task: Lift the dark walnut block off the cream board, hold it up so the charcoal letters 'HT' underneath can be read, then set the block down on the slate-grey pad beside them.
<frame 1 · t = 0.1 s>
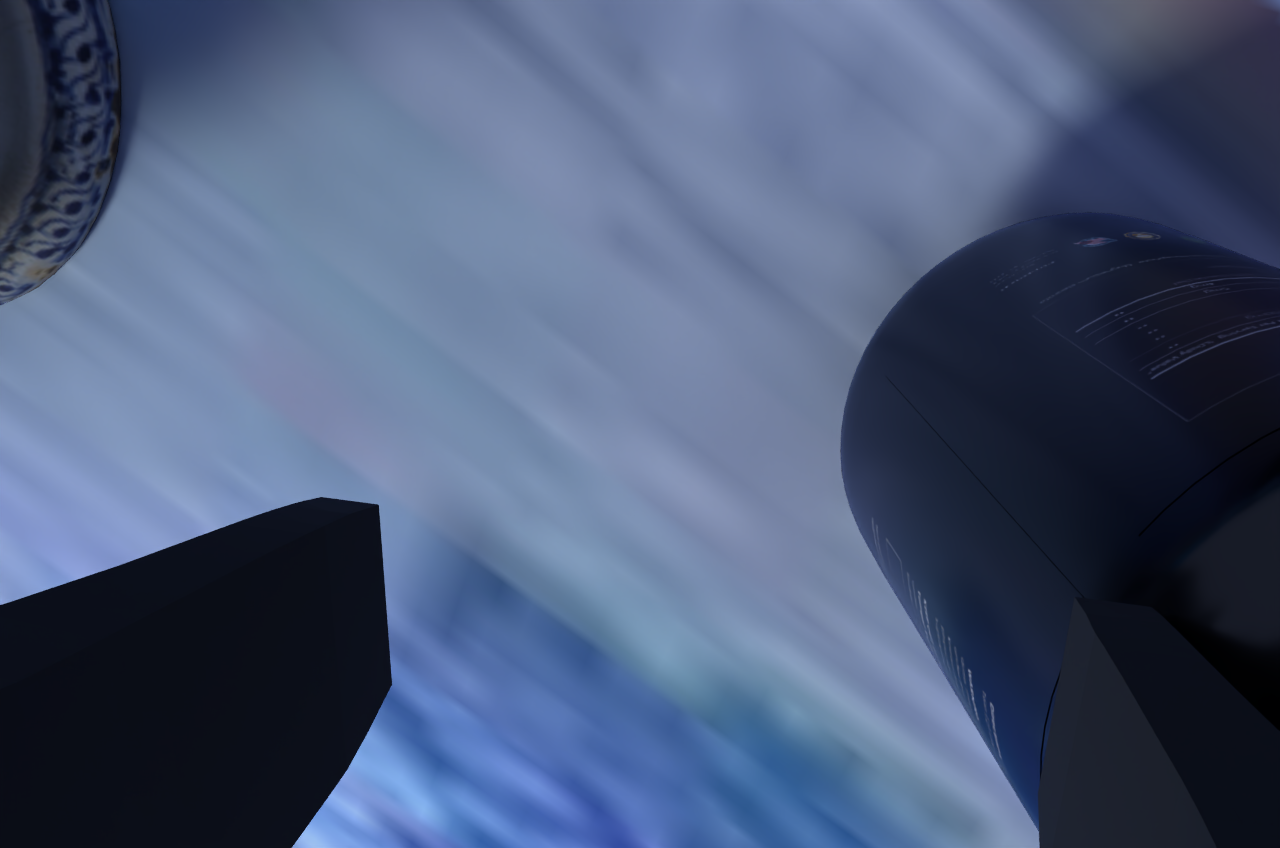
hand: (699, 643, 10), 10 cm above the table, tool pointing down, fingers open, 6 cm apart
supplement bottle: (1036, 407, 18), point 1 cm above the table, touching gripper
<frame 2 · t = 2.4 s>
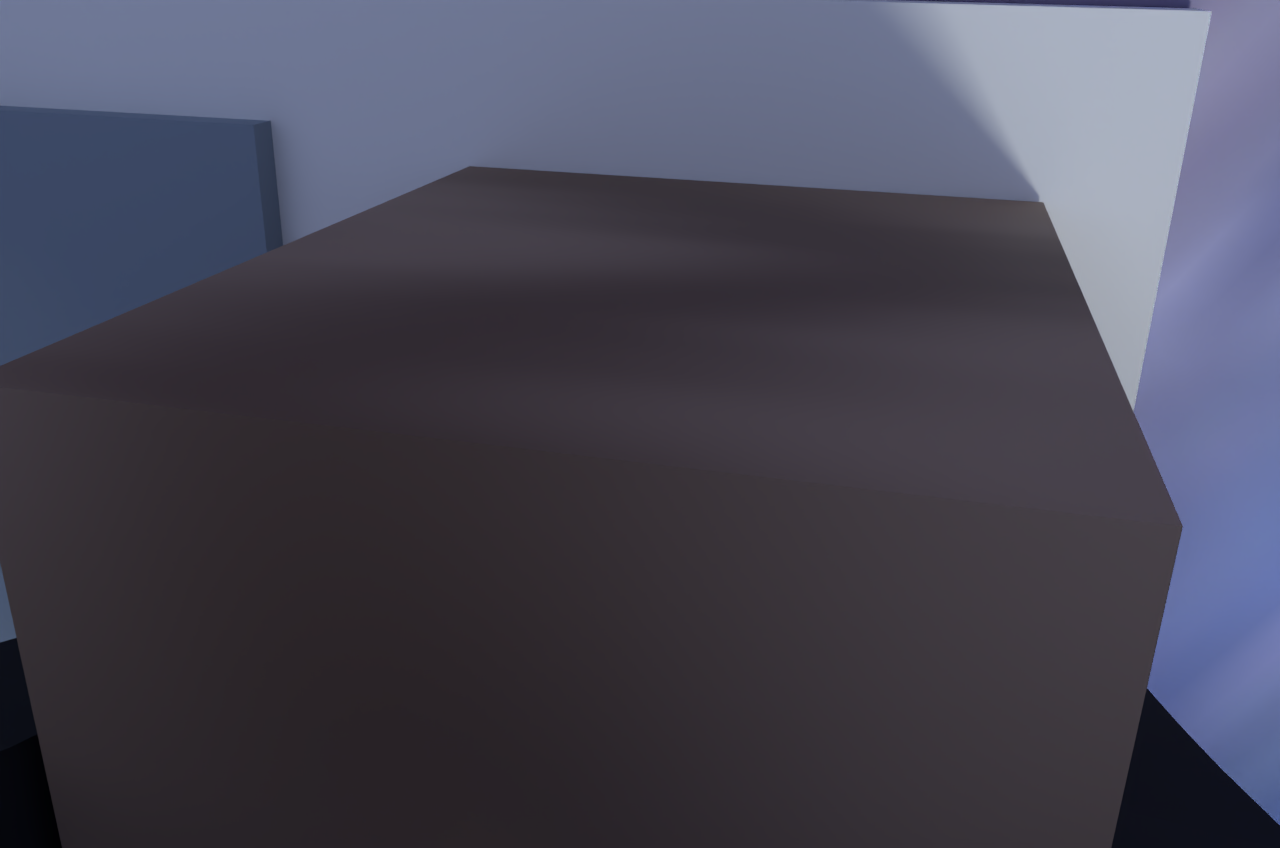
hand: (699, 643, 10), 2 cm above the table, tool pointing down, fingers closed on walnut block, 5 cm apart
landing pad: (71, 494, 13), resting on code board
code board: (419, 515, 13), on the table
walnut block: (719, 586, 11), point 1 cm above the table, touching code board, gripper
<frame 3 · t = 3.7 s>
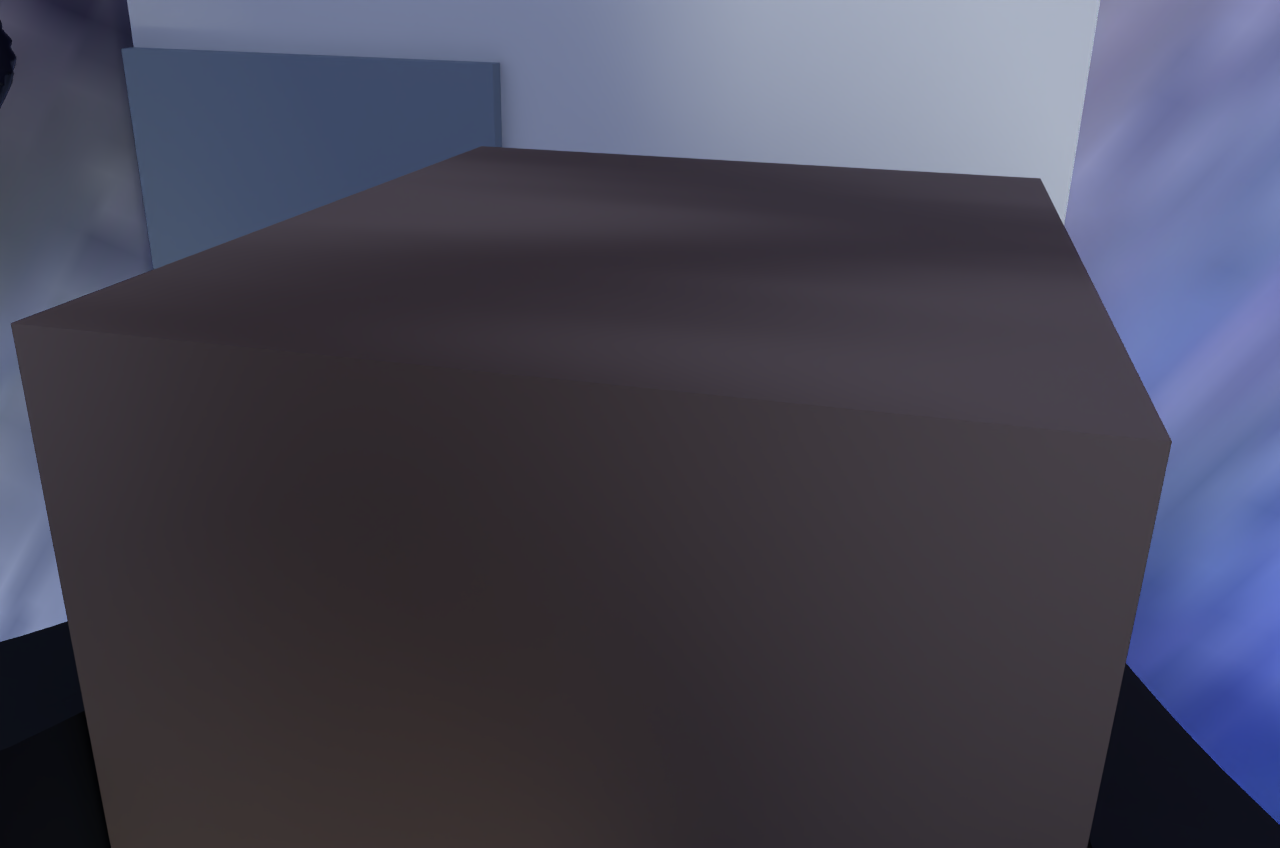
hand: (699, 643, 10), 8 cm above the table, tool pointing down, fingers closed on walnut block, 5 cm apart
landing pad: (333, 329, 19), resting on code board
code board: (578, 341, 18), on the table
walnut block: (724, 559, 12), point 7 cm above the table, touching gripper
when the fingers open (3 cm above the table, at t = 7.2 s): walnut block stays where it is, resting on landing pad.
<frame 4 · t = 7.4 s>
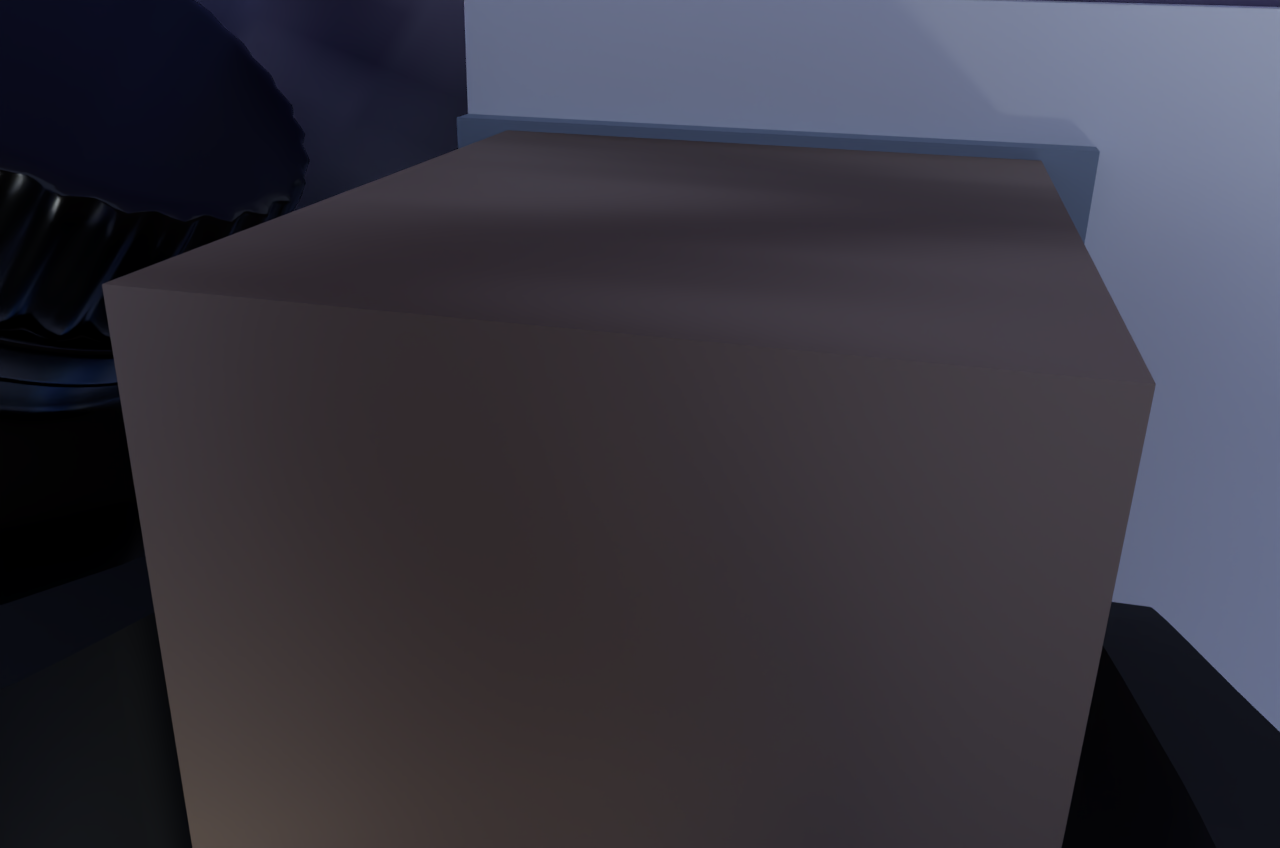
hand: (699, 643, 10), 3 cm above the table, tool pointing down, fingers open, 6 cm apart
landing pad: (739, 531, 13), resting on code board
code board: (1119, 553, 12), on the table
walnut block: (738, 527, 12), point 1 cm above the table, touching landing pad
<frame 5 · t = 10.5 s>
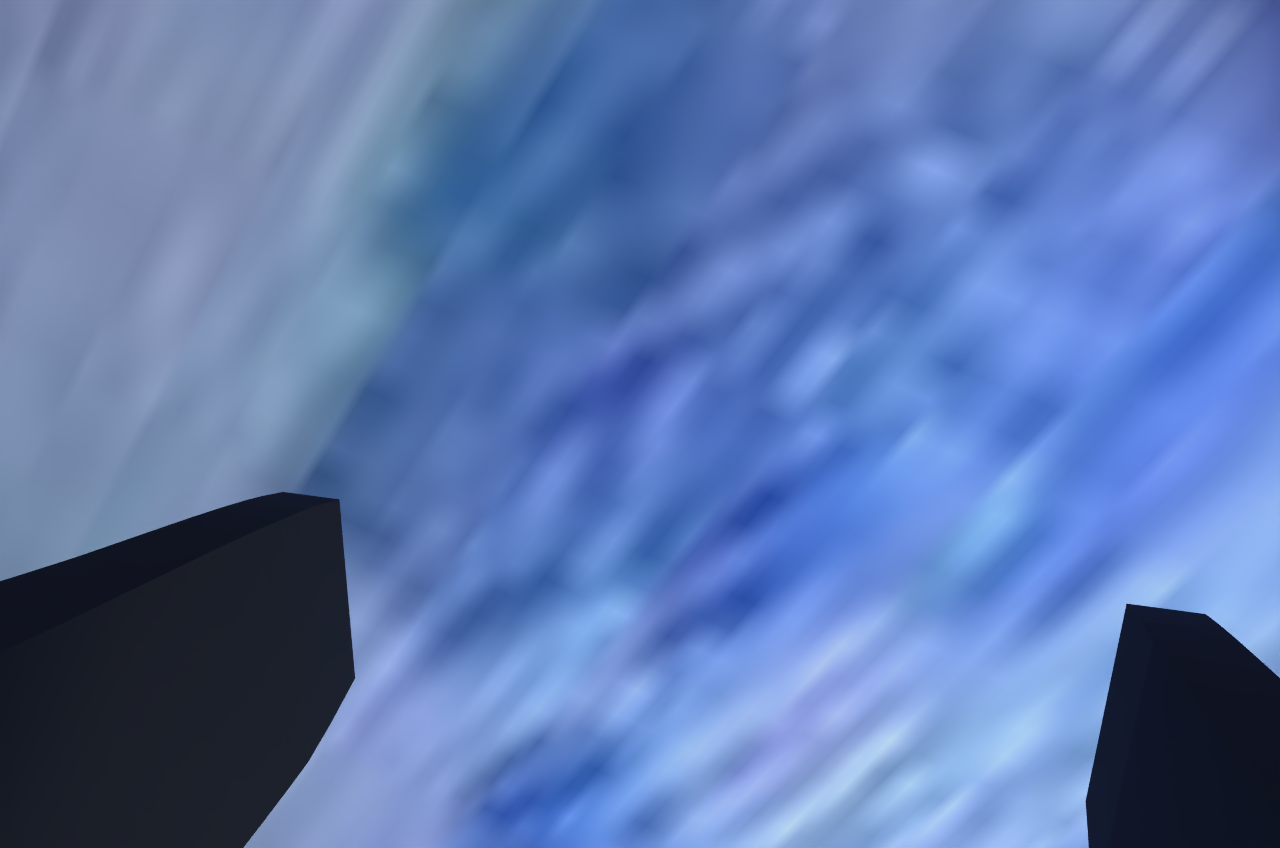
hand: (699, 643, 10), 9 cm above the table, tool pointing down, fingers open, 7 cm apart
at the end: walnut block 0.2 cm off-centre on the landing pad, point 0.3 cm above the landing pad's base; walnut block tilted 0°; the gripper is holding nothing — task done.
